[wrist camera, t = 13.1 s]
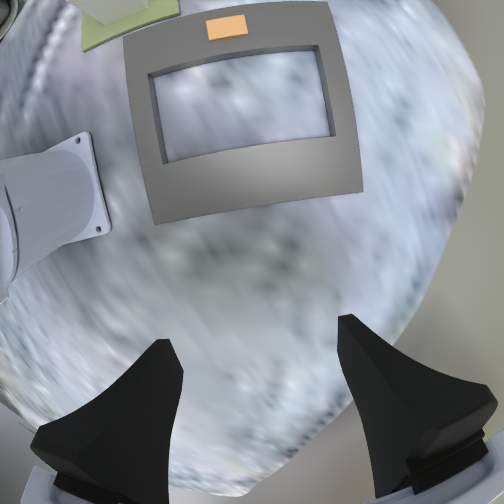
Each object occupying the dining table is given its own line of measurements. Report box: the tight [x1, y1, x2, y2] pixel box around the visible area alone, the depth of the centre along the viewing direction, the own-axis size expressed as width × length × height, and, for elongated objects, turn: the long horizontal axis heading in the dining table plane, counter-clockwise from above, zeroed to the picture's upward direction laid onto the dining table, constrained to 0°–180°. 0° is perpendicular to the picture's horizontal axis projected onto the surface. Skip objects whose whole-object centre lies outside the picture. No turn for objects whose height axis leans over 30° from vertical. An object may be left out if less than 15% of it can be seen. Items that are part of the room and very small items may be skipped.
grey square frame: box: [123, 1, 363, 225], centre depth 15 cm, size 14×14×2 cm
